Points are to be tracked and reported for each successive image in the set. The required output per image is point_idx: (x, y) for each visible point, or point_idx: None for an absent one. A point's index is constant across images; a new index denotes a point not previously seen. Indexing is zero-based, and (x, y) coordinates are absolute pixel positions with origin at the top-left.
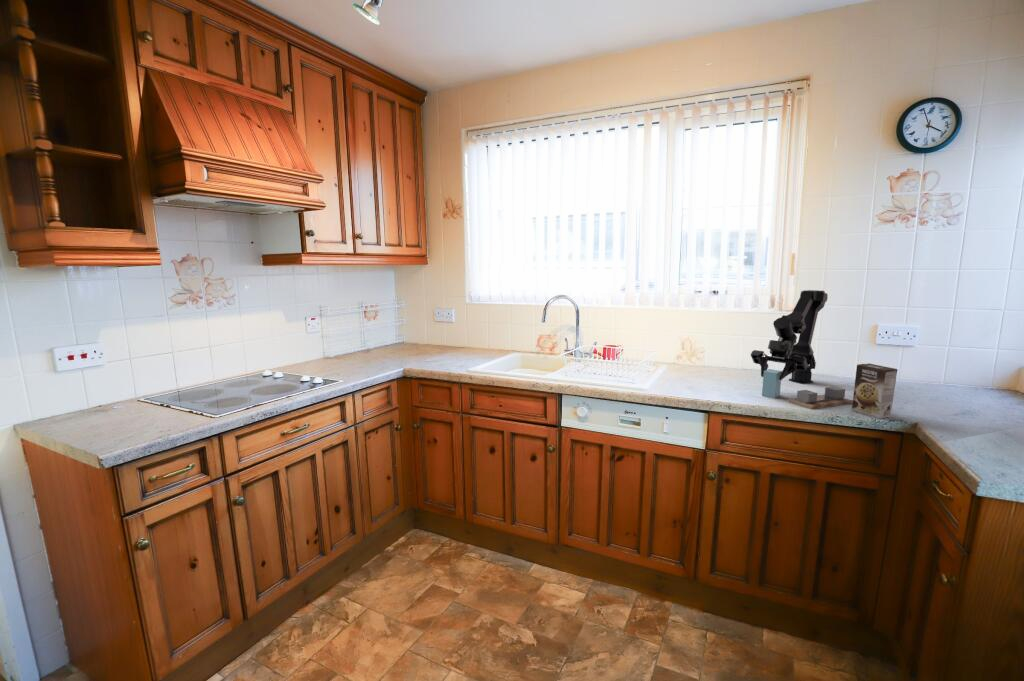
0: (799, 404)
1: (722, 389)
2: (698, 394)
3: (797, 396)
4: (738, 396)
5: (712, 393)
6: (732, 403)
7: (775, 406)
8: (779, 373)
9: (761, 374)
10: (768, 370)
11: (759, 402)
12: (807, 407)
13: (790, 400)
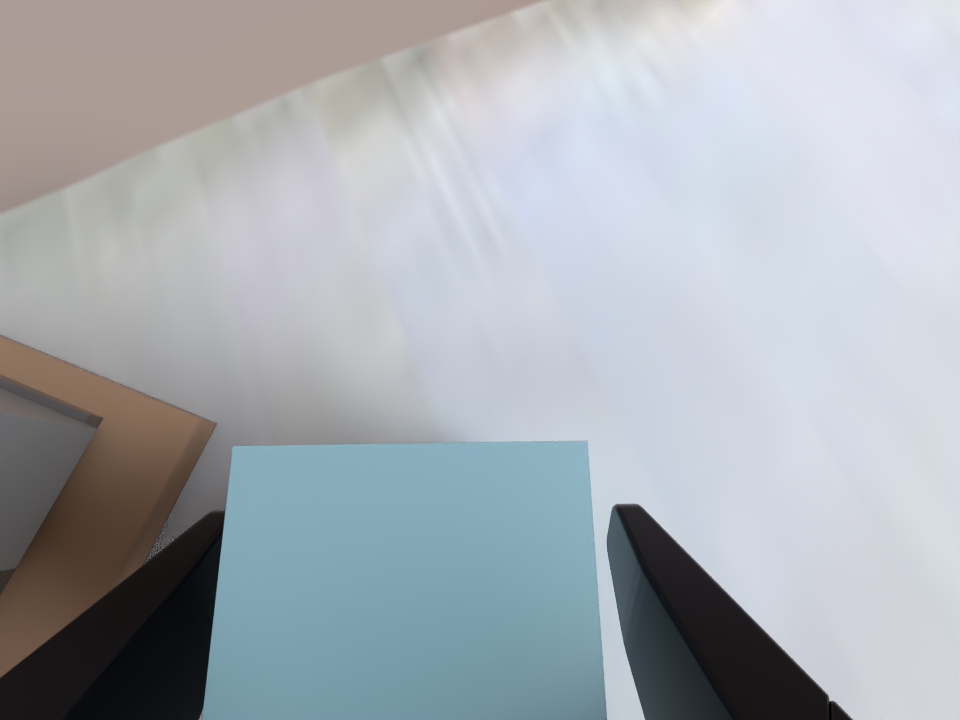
0: (85, 371)
1: (956, 398)
2: (937, 57)
3: (63, 422)
4: (671, 253)
5: (894, 172)
6: (579, 19)
7: (274, 182)
8: (228, 682)
9: (642, 517)
10: (544, 669)
11: (430, 201)
12: (7, 339)
13: (177, 408)
